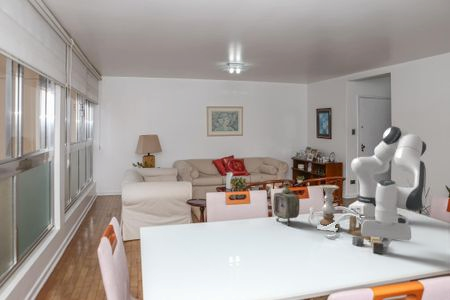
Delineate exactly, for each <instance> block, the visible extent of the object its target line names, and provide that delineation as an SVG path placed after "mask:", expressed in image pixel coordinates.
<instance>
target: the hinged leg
mask: <svg viewBox="0 0 450 300" xmlns="http://www.w3.org/2000/svg"><path fill="white" fill-rule="evenodd" d="M369 241H371V243H370V246H371V248H372V252H373V253H376V254H384V253H383V252H384V248H383V244H382V243H381V241H380V239H379V237H371V240H369Z"/></svg>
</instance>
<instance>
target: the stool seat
mask: <svg viewBox="0 0 450 300" xmlns="http://www.w3.org/2000/svg"><path fill="white" fill-rule="evenodd" d="M364 215H365V214H360V215H359V218H361V217H362V216H364ZM357 220H358V219H357V217H356V216H350V217H349V228H348V232H347V233H348V235H352V236H354V237H356V236H362V237H364V239H365V240H367V241H370V240H371V237H369V236H363V235H362V234H361V226H362V225H361V224H360V223H359V222H358V224H359V225H358V226H357ZM385 240H386V241H387V238H383V240H382V241H385Z"/></svg>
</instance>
